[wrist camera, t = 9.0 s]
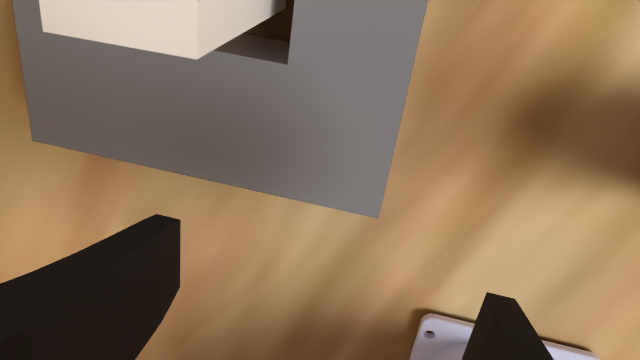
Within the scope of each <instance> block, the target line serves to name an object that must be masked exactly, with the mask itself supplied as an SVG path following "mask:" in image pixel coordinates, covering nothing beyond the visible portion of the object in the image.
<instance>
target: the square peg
mask: <svg viewBox="0 0 640 360" xmlns="http://www.w3.org/2000/svg"><path fill="white" fill-rule="evenodd" d="M39 5H40V13H41V20H42V28H43V32H48V33H53V34H59V35H64V36H70V37H75V38H81V39H86V40H92V41H97V42H103V43H108V44H114V45H119V46H125V47H130V48H136V49H141V50H147V51H152V52H158V53H163V54H169V55H174V56H180V57H185V58H191V59H196V60H197V59H199V58H200V57H202V56H204V55H206V54H207V53H209V52H211V51H213V50H214V49H216V48H218V47H219V46H221V45H223V44H225V43H226V42H228V41H230V40H232V39H233V38H235V37H237V36H239V35H240V34H242V33H244V32H245V31H247V30H249V29H251V28H252V27H254V26H256V25H258V24H259V23H261V22H263V21H265V20H266V19H268V18H270V17H271V16H273V15H275V14H277V13H278V12H280V11H282V10H284V9H285V8H286V0H39Z"/></svg>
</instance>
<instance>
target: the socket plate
mask: <svg viewBox="0 0 640 360" xmlns="http://www.w3.org/2000/svg"><path fill="white" fill-rule="evenodd" d="M427 2H428V0H295V1H294V10H293V19H292V29H291V38H290V42H288V41H282V40H277V39H272V38H266V37H261V36H256V35H250V34H245V33H242V34H240V35H239V36H237V37H235V38H233V39H232V40H230V41H228V42H226V43H225V44H223V45H221V46H219V47H218V48H216V49H214V50H213V51H211V52H209V53H207V54H206V55H204V56H202V57H200V58H199V59H197V60H196V59H191V58H185V57H180V56H174V55H169V54H163V53H158V52H152V51H147V50H141V49H136V48H130V47H125V46H119V45H114V44H108V43H103V42H97V41H92V40H86V39H81V38H75V37H70V36H64V35H59V34H53V33H48V32H43V28H42V20H41V13H40V5H39V0H12V4H13V11H14V18H15V25H16V32H17V39H18V46H19V52H20V59H21V66H22V73H23V80H24V87H25V94H26V101H27V108H28V114H29V121H30V128H31V135H32V141H36V142H41V143H45V144H49V145H54V146H58V147H63V148H67V149H72V150H76V151H80V152H85V153H89V154H94V155H98V156H103V157H107V158H111V159H116V160H120V161H125V162H129V163H134V164H138V165H143V166H147V167H151V168H156V169H160V170H165V171H169V172H174V173H178V174H182V175H187V176H191V177H196V178H200V179H205V180H209V181H213V182H218V183H222V184H227V185H231V186H236V187H240V188H244V189H249V190H253V191H258V192H262V193H267V194H271V195H276V196H280V197H284V198H289V199H293V200H298V201H302V202H307V203H311V204H315V205H320V206H324V207H329V208H333V209H338V210H342V211H346V212H351V213H355V214H360V215H364V216H369V217H373V218H378V219H379V214H380V210H381V205H382V201H383V197H384V192H385V188H386V183H387V179H388V175H389V170H390V166H391V161H392V157H393V153H394V148H395V144H396V139H397V135H398V130H399V126H400V122H401V117H402V113H403V108H404V104H405V100H406V95H407V91H408V86H409V82H410V77H411V73H412V69H413V64H414V60H415V55H416V51H417V47H418V42H419V38H420V33H421V29H422V25H423V20H424V16H425V11H426V7H427Z"/></svg>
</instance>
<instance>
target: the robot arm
mask: <svg viewBox="0 0 640 360" xmlns="http://www.w3.org/2000/svg"><path fill="white" fill-rule="evenodd" d="M179 288H180V220H179V219H175V218H171V217H166V216H162V215H158V214H156V215H153V216H151V217H149V218H147V219H144V220H142V221H140V222H138V223H136V224H134V225H132V226H130V227H128V228H126V229H124V230H122V231H120V232H118V233H116V234H114V235H112V236H110V237H108V238H106V239H104V240H102V241H100V242H97V243H95V244H93V245H91V246H89V247H87V248H85V249H83V250H81V251H79V252H77V253H74V254H72V255H70V256H67V257H65V258H63V259H60V260H58V261H56V262H54V263H51V264H49V265H47V266H44V267H42V268H40V269H38V270H35V271H33V272H30V273H28V274H25V275H23V276H20V277H17V278H15V279H12V280H9V281H6V282H3V283H1V284H0V360H135V359H136V357H137V356H138V355H139V353H140V352H141V350H142V349H143V348H144V346H145V345H146V343H147V342H148V341H149V339H150V338H151V336H152V335H153V333H154V332H155V331H156V329H157V328H158V326H159V325H160V323H161V322H162V320H163V318H164V316H165V314H166V313H167V311H168V309H169V307H170V305H171V303H172V301H173V299H174V297H175V295H176V294H177V292H178V290H179ZM425 331H432V332H433V333H427V332H425ZM409 360H599V357H598V356H597V355H596V354H595V353H592V352H589V351H585V350H581V349H577V348H573V347H568V346H564V345H560V344H556V343H552V342H548V341H544V340H541V339H540V337H539V336H538V334H537V333H536V331H535V329H534V328H533V326H532V325H531V323H530V322H529V320H528V319H527V317H526V315H525V314H524V312H523V311H522V309H521V307H520V306H519V304H518V303H517V301H516V300H515V299H513V298H509V297H505V296H500V295H496V294H492V293H488V292H487V293H486V296H485V298H484V301H483V304H482V306H481V309H480V312H479V314H478V317H477V320H476V322H475V324H474V323H470V322H466V321H462V320H458V319H454V318H450V317H446V316H442V315H437V314H431V313H430V314H426V315H424V316H423V317H422V319H421V322H420V325H419V328H418V332H417V335H416V338H415V341H414V345H413V348H412V351H411V354H410V358H409Z"/></svg>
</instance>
